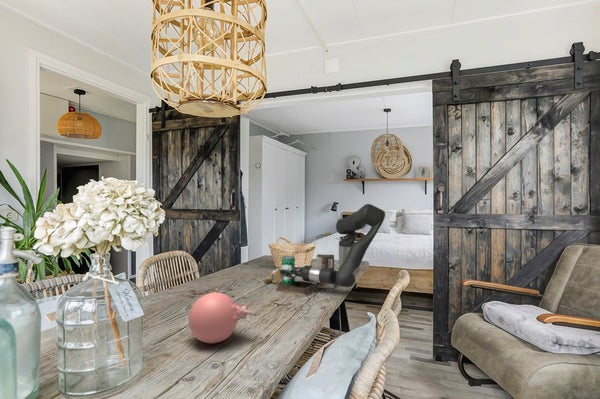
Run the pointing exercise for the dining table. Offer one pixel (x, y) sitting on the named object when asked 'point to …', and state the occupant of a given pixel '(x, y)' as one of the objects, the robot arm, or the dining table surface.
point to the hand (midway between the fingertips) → (284, 270)
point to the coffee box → (325, 262)
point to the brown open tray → (297, 288)
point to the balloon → (215, 317)
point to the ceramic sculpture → (274, 276)
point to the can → (288, 264)
